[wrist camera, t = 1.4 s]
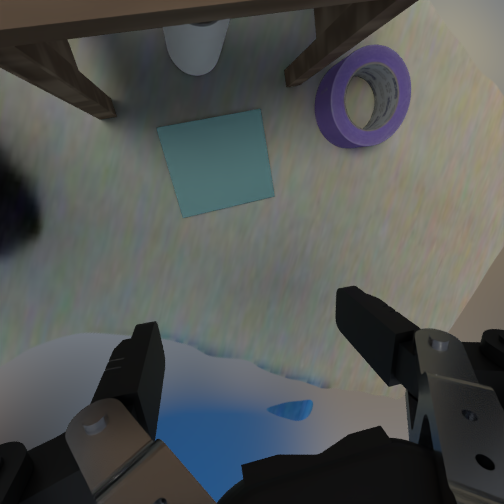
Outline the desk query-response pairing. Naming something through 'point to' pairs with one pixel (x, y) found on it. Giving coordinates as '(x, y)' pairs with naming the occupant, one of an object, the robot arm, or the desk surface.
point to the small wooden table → (155, 16)
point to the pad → (217, 161)
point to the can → (196, 45)
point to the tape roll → (385, 93)
